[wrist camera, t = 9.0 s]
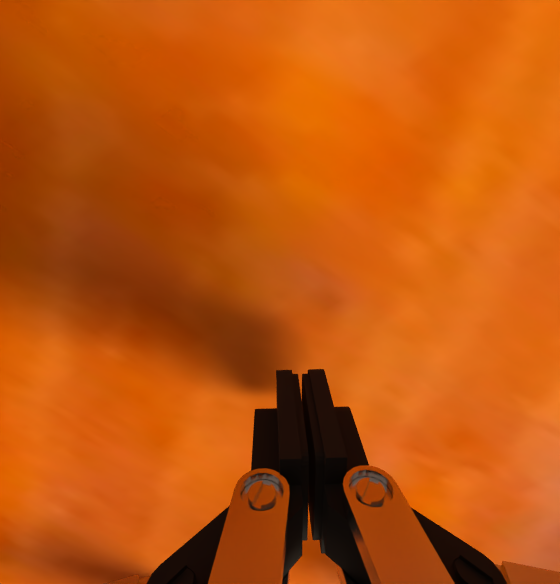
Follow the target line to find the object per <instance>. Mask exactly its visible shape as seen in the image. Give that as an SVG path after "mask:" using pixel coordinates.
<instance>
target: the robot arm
mask: <svg viewBox="0 0 560 584" xmlns="http://www.w3.org/2000/svg"><path fill="white" fill-rule="evenodd" d="M276 378H277V408H275V409H255V416H254V433H253V450H252V467H251V471H249V472H248V473H246V474H244V475H243V476H242V477H241V478H240V479H239V480H238V482H237V484H236V486H235V489H234V492H233V496H232V499H231V503H230V506H229V507H228V508H226V509H225V510H224V511H223V512H222V513H221V514H219V515H218V516H217V517H216V518H215V519H214V520H212V521H211V522H210V523H209V524H208V525H207V526H205V527H204V528H203V529H202V530H201V531H199V532H198V533H197V534H196V535H195V536H194V537H192V538H191V539H190V540H189V541H188V542H187V543H185V544H184V545H183V546H182V547H181V548H179V549H178V550H177V551H176V552H175V553H174V554H172V555H171V556H170V557H169V558H168V559H167V560H165V561H164V562H163V563H162V564H161V565H160V566H159V567H158V568H157V569H156V570H155V571H154V572H153V573H152V575H151V576H148V577H144V578H141V579H139V576H138V574H137V575H133V576H129V577H126V578H122V579H119V580H115V581H112V582H108V583H105V584H289V570H290V569H291V568H292V566H293V565H294V564H295V563H296V562H297V561H298V559H299V558H300V557H301V556H302V540H307V528H308V504H309V513H310V522H311V530H312V538H313V540H320V547H321V553H325V554H326V555H327V556H328V557H329V558H330V559H332V560H333V561H334V562H335V563H336V564H337V570H338V576H339V579H340V583H341V584H560V572H556V571H551V570H546V569H541V568H536V567H531V566H526V565H521V564H516V563H511V562H506V561H502V565H501V566H500V565H495V564H494V563H493V562H492V561H491V560H490V559H488V558H487V557H486V556H485V555H483V554H482V553H481V552H479V551H477V550H476V549H474V548H473V547H471V546H470V545H468V544H467V543H465V542H463V541H462V540H460V539H459V538H457V537H456V536H454V535H453V534H451V533H450V532H448V531H446V530H445V529H443V528H442V527H440V526H439V525H437V524H436V523H434V522H433V521H431V520H429V519H428V518H426V517H425V516H423V515H422V514H420V513H419V512H417V511H416V510H414V509H412V508H411V507H410V506H409V504H408V502H407V500H406V499H405V497H404V495H403V493H402V492H401V490H400V488H399V486H398V485H397V483H396V482H395V480H394V479H393V478H392V477H391V476H390V475H389V474H388V473H386V472H385V471H383V470H381V469H379V468H377V467H373V466H369V464H368V461H367V458H366V455H365V452H364V449H363V446H362V443H361V440H360V437H359V434H358V431H357V428H356V425H355V422H354V419H353V416H352V413H351V410H350V408H349V407H334V405H333V401H332V398H331V394H330V390H329V386H328V383H327V379H326V375H325V371H324V369H312V370H308V374H302V401H301V393H300V386H299V379H298V374H292V370H276Z"/></svg>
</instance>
